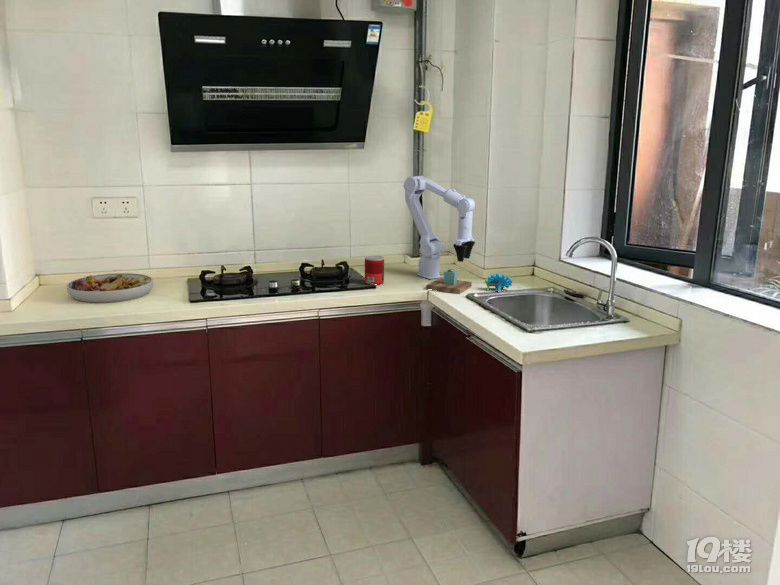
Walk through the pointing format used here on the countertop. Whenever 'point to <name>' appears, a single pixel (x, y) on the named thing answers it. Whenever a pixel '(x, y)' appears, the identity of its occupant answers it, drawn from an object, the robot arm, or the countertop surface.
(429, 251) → the robot arm
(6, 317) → the countertop surface
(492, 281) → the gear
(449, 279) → the post
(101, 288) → the bowl
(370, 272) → the canned food
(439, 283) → the slot plate
